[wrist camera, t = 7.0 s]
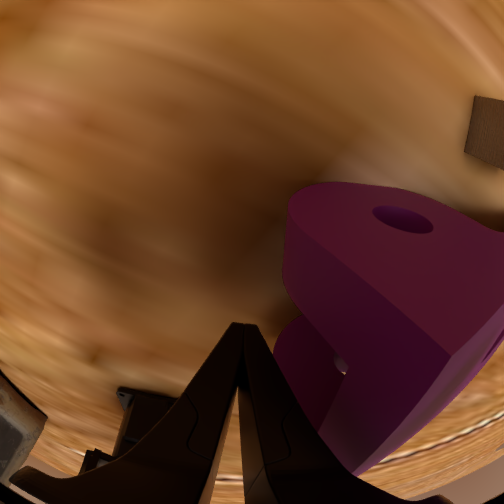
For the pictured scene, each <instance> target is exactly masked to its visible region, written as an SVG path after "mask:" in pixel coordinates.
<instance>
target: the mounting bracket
mask: <svg viewBox="0 0 504 504" xmlns="http://www.w3.org/2000/svg"><path fill="white" fill-rule="evenodd" d="M282 277H283V282H284V285H285V288H286V290H287V293H288V294H289V296H290V298H291V299H292V301H293V302H294V304H295V305H296V306H297V307H298V309H299V310H300V311H301V312H302V313H303V315H301V316H299V317H297V318H296V319H294V320H293V321H292V322H290V323H289V324H288V325H287V326H286V327H285V328H284V330H283V331H282V332H281V334H280V335H279V337H278V339H277V341H276V343H275V346H274V350H273V356H274V358H275V360H276V362H277V364H278V366H279V367H280V369H281V371H282V373H283V375H284V377H285V379H286V380H287V382H288V384H289V386H290V388H291V390H292V391H293V393H294V395H295V397H296V399H297V402H298V403H299V404H300V406H301V408H302V409H303V411H304V413H305V415H306V416H307V418H308V419H309V421H310V423H311V424H312V426H313V427H314V429H315V430H316V431H317V433H318V434H319V436H320V437H321V438H322V439H323V441H324V442H325V443H326V445H327V446H328V447H329V448H330V450H331V451H332V452H333V454H334V455H335V456H336V457H337V459H338V460H339V461H340V462H341V464H342V465H343V466H344V467H345V468H346V469H347V470H348V471H349V472H350V473H352V474H353V475H354V476H356V477H357V476H359V475H360V474H362V473H363V472H365V471H366V470H368V469H369V468H371V467H372V466H374V465H375V464H377V463H378V462H380V461H381V460H383V459H384V458H385V457H387V456H388V455H389V454H391V453H392V452H393V451H395V450H396V449H397V448H399V447H400V446H401V445H403V444H404V443H405V442H406V441H408V440H409V439H410V438H411V437H413V436H414V435H415V434H416V433H417V432H419V431H420V430H421V429H422V428H423V427H424V426H426V425H427V424H428V423H429V422H430V421H431V420H432V419H433V418H435V417H436V416H437V415H438V414H439V413H440V412H441V411H442V410H443V409H444V408H445V407H446V406H447V405H448V404H449V403H450V402H451V401H452V400H453V399H454V398H455V397H456V396H457V395H458V394H459V393H460V392H461V391H462V390H463V389H464V388H465V387H466V386H467V385H468V383H469V382H470V381H471V380H472V379H473V378H474V377H475V376H476V375H477V373H478V372H479V371H480V370H481V369H482V368H483V366H484V365H485V364H486V363H487V361H488V360H489V359H490V358H491V356H492V355H493V354H494V352H495V351H496V350H497V348H498V347H499V346H500V344H501V343H502V341H503V340H504V232H497V231H494V230H491V229H489V228H487V227H485V226H483V225H482V224H480V223H478V222H476V221H475V220H473V219H471V218H469V217H467V216H466V215H464V214H462V213H460V212H458V211H456V210H454V209H453V208H451V207H449V206H447V205H444V204H442V203H440V202H438V201H435V200H433V199H430V198H428V197H425V196H422V195H419V194H416V193H413V192H410V191H406V190H402V189H398V188H392V187H384V186H376V185H367V184H357V183H347V182H327V183H320V184H315V185H311V186H308V187H305V188H303V189H301V190H299V191H297V192H296V193H294V194H293V195H292V197H291V198H290V200H289V203H288V212H287V224H286V235H285V246H284V256H283V267H282ZM341 372H346V374H345V375H344V374H343V373H341Z"/></svg>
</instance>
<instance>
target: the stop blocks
mask: <svg viewBox="0 0 504 504" xmlns="http://www.w3.org/2000/svg"><path fill="white" fill-rule="evenodd" d="M464 152H466V153H468V154H471V155H473V156H475V157H477V158H479V159H482V160H484V161H486V162H488V163H490V164H492V165H494V166H496V167H498V168H500V169H502V170H504V101H502V100H497V99H492V98H486V97H481V96H475V100H474V106H473V112H472V118H471V123H470V128H469V133H468V138H467V142H466V147H465V151H464Z"/></svg>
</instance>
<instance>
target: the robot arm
mask: <svg viewBox="0 0 504 504" xmlns="http://www.w3.org/2000/svg"><path fill="white" fill-rule="evenodd" d="M237 387H238V405H239V422H240V439H241V455H242V470H243V484H244V496H245V504H453V502H451V501H450V500H449V499H447V498H445V497H444V496H442V495H440V494H439V495H435V496H431V497H429V498H426V499H423V500H419V501H408V500H404V499H401V498H398V497H396V496H394V495H392V494H389V493H387V492H385V491H383V490H381V489H379V488H377V487H375V486H373V485H371V484H369V483H367V482H365V481H363V480H361V479H359V478H358V477H356V476H354V475H353V474H352V473H350V472H349V471H348V470H347V469H346V468H345V467H344V466H343V465H342V464H341V462H340V461H339V460H338V459H337V457H336V456H335V455H334V454H333V452H332V451H331V450H330V448H329V447H328V446H327V445H326V443H325V442H324V441H323V439H322V438H321V437H320V436H319V434H318V433H317V431H316V430H315V429H314V427H313V426H312V424H311V423H310V421H309V419H308V418H307V416H306V415H305V413H304V411H303V409H302V408H301V406H300V404H299V403H298V402H297V399H296V397H295V395H294V393H293V391H292V390H291V388H290V386H289V384H288V382H287V380H286V379H285V377H284V375H283V373H282V371H281V369H280V367H279V366H278V364H277V362H276V360H275V358H274V356H273V354H272V353H271V351H270V349H269V347H268V345H267V343H266V341H265V339H264V337H263V336H262V334H261V332H260V330H259V328H258V326H257V325H255V324H247V323H246V324H243V323H237V322H232V323H231V324H230V326H229V327H228V329H227V330H226V331H225V333H224V334H223V336H222V337H221V339H220V340H219V342H218V343H217V344H216V346H215V347H214V349H213V350H212V352H211V353H210V355H209V356H208V357H207V359H206V360H205V362H204V363H203V365H202V366H201V367H200V369H199V370H198V372H197V373H196V374H195V376H194V377H193V379H192V380H191V382H190V383H189V384H188V386H187V387H186V389H185V390H184V392H183V393H182V394H181V395H180V397H179V398H178V400H176V399H170V398H165V397H160V396H155V395H150V394H145V393H141V392H136V391H132V390H128V389H124V388H118V389H117V392H116V394H117V396H118V398H119V401H120V403H121V405H122V407H123V409H124V411H125V413H124V416H123V420H122V423H121V426H120V429H119V433H118V436H117V439H116V443H115V446H114V450H113V453H112V456H111V455H108V454H106V453H103V452H102V451H101V450H99V449H96V448H95V450H94V451H91V450H87V451H86V454H85V457H84V461H83V464H82V467H81V469H80V472H79V474H78V475H77V476H74V477H71V478H62V479H61V478H55V477H52V476H49V475H47V474H45V473H43V472H41V471H39V470H37V469H35V468H33V467H31V466H25V467H23V468H22V469H20V470H18V471H17V472H15V473H14V474H13V475H12V476H11V477H10V478H9V482H11V483H12V484H14V485H15V486H17V487H19V488H20V489H22V490H23V491H25V492H27V493H28V494H30V495H32V496H34V497H36V498H38V499H39V500H41V501H43V502H45V503H46V504H210V500H211V496H212V492H213V488H214V484H215V480H216V476H217V472H218V468H219V464H220V460H221V456H222V451H223V447H224V443H225V439H226V435H227V431H228V426H229V422H230V418H231V414H232V409H233V405H234V401H235V396H236V392H237ZM0 504H35V503H33V502H32V501H30V500H28V499H26V498H25V497H23V496H21V495H20V494H18V493H17V492H15V491H13V490H12V489H10V488H9V487H7V486H6V485H4V484H3V483H1V482H0ZM482 504H504V492H503V493H501V494H499V495H497V496H496V497H494V498H492V499H490V500H488V501H486V502H484V503H482Z"/></svg>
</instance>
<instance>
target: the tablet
mask: <svg viewBox="0 0 504 504" xmlns="http://www.w3.org/2000/svg"><path fill="white" fill-rule="evenodd" d="M46 419H47V417H46V416H44V415H43V414H42V413H41V412H39V411H38V410H36V409H34V408H33V407H32V406H31V405H29V404H28V403H27V402H26V401H25V400H24V399H23V398H22V397H21V396H20V395H19V394H18V393H17V392H16V391H15V390H14V389H13V388H12V387H11V386H10V384H9V383H8V382H7V381H6V380H5V379H4V378H3V377H2V376H1V375H0V482H1V483H3V484H4V485H6V486H7V487H9V486H10V485H11V482H9V478H10V477H11V476H12V475H13V474H14V473H15V472H17V471H18V470H19V468H20V467H21V466H22V465H23V463H24V462H25V461H26V459H27V457H28V455H29V453H30V452H31V450H32V449H33V447H34V445H35V443H36V442H37V440H38V438H39V436H40V434H41V433H42V431H43V429H44V425H45V421H46Z"/></svg>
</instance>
